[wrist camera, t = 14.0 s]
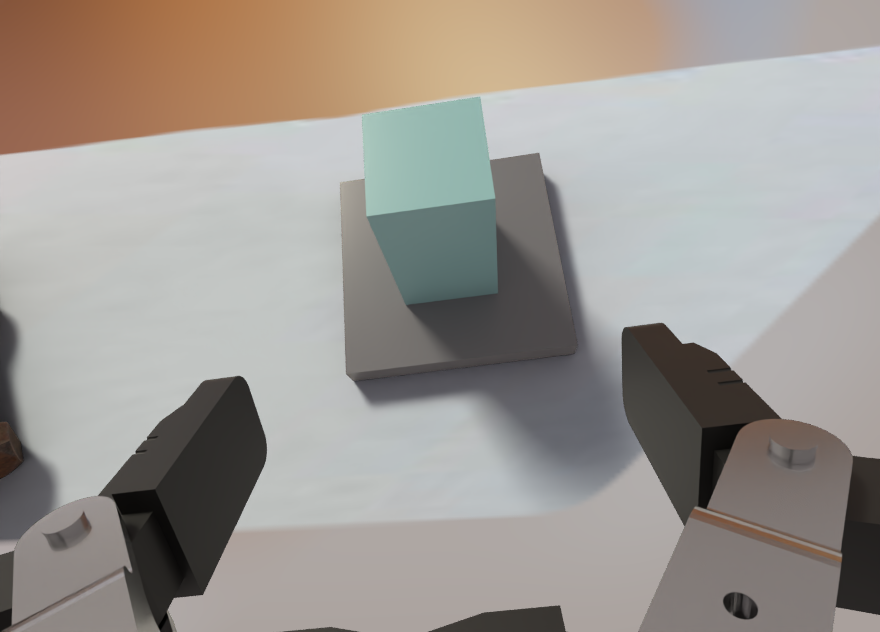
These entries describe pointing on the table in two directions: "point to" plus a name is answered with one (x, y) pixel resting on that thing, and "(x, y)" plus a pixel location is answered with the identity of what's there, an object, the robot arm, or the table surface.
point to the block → (432, 199)
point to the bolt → (9, 450)
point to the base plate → (463, 319)
